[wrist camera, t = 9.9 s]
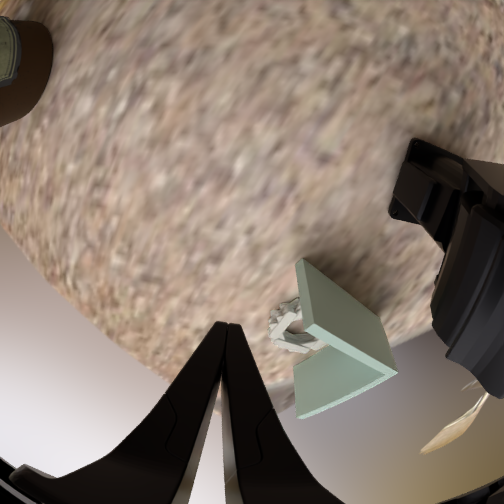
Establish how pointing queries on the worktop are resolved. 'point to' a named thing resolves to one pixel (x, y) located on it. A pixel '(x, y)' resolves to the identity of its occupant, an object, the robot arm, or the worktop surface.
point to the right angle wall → (331, 343)
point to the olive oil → (22, 66)
